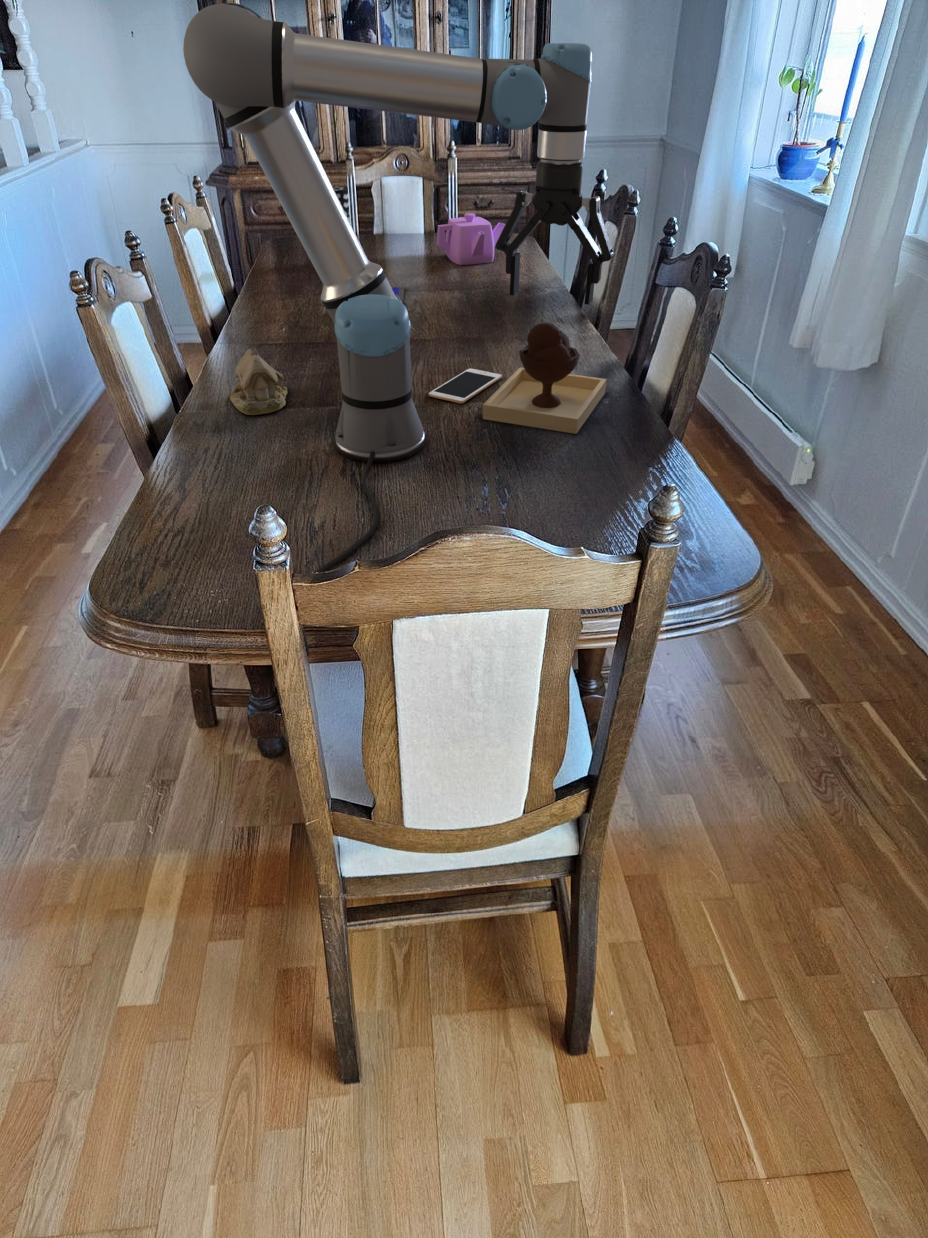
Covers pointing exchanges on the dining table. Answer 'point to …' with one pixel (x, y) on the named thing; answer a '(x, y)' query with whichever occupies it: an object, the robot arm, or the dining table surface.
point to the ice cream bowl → (548, 360)
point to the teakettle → (469, 239)
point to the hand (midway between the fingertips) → (550, 298)
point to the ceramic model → (257, 386)
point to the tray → (568, 417)
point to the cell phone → (465, 385)
